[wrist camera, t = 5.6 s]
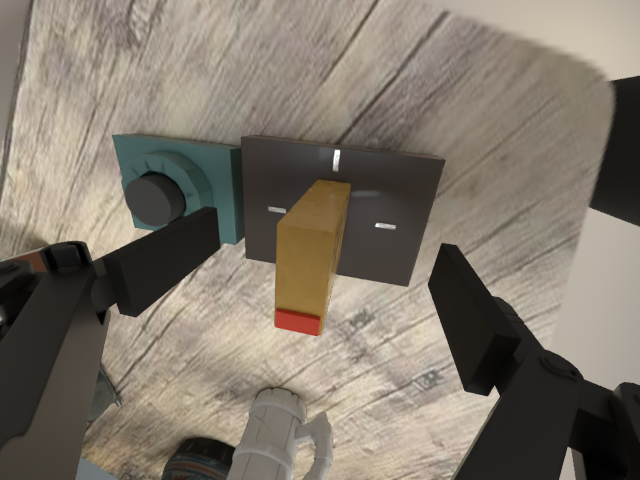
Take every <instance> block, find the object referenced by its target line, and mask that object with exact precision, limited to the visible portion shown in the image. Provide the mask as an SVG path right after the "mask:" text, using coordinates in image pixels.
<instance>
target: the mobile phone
mask: <svg viewBox="0 0 640 480" xmlns="http://www.w3.org/2000/svg"><path fill="white" fill-rule="evenodd" d="M112 403H116V405H117V406H118V407H120V406H121V405H122V402H121V400H120V399H119V397H118V396H117V394H116V393H115V391H114V390H113V387H112V386H111V384H110V382H109V380H108V379H107V377H106V375H105V374H104V372H103V370H102V369H101V367H99V372H98V376H97V381H96V386H95V390H94V395H93V400H92V404H91V409H90V413H89V418H88V423H89V422H93V421H95V420H96V419H97V418H99V417H100V416H101V415H102V414H103V413H104V411H105V410H106V409H107V408H108V407H109V406H110V405H111V404H112Z"/></svg>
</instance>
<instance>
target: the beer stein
mask: <svg viewBox="0 0 640 480" xmlns="http://www.w3.org/2000/svg"><path fill="white" fill-rule="evenodd" d="M234 452H235V448H233V447H231V446H228V445H226V444H224V443H221V442H219V441H216V440H210V439H203V438H194V439H188V440H186V441H185V442H184V443H182V444H181V445H180V446H179V448H178V449H177V451H176V452H175V453H174V454H173V455H172V456H171V458H170V459H169V460H168V462H167V463H166V465H165V468H164V471H163V475H162V479H161V480H226V479H227V477H228V474H229V471H230V469H231V466H232V463H233V460H232V458H233V454H234Z"/></svg>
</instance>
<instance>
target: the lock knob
mask: <svg viewBox="0 0 640 480" xmlns="http://www.w3.org/2000/svg"><path fill="white" fill-rule="evenodd" d="M350 188H351V184H350V183H342V182H335V181H328V180H321V179H318V180H317V181H316V182H315V183H314V184H313V185H312V187H311V188H310V189H309V190H308V191H307V192H306V193H305V194H304V195H303V196H302V197H301V198H300V200H299V201H298V202H297V203H296V204H295V205H294V206H293V207H292V208H291V209H290V210H289V211H288V212H287V214H286V215H285V216H284V217H283V218H282V219H281V220H280V221H279V222H278V223H277V244H276V282H275V319H274V325H275V327H277V328H281V329H286V330H291V331H295V332H300V333H305V334H309V335H314V336H318V335H322V332H323V327H324V323H325V319H326V314H327V310H328V305H329V301H330V297H331V292H332V288H333V283H334V279H335V275H336V270H337V266H338V262H339V257H340V253H341V247H342V240H343V234H344V227H345V221H346V214H347V208H348V201H349V195H350Z"/></svg>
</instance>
